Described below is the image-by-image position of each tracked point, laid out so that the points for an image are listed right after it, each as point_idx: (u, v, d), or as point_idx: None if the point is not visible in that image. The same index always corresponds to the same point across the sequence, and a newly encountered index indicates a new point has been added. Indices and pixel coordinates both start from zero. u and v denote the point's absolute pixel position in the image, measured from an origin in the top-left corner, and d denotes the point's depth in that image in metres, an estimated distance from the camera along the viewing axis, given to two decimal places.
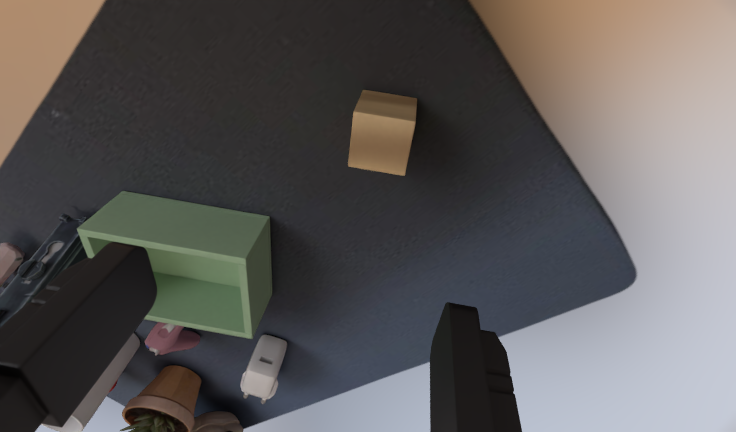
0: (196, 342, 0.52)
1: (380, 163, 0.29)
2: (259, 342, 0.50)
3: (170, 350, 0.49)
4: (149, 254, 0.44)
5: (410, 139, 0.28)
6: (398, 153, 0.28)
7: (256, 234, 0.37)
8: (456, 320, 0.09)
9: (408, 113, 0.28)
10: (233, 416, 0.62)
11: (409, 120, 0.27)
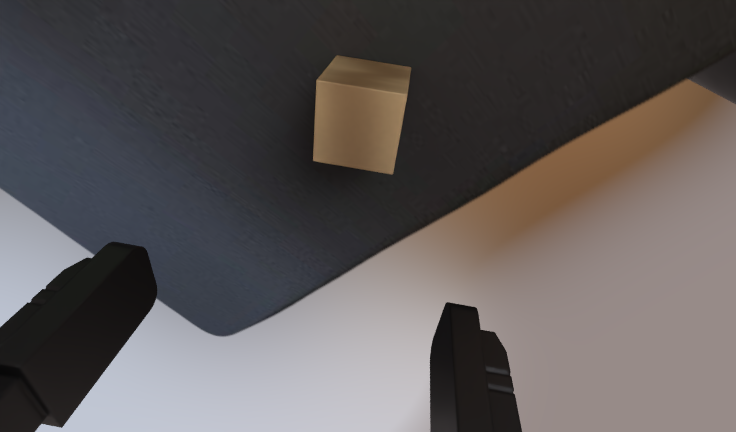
0: None
1: (327, 130, 0.20)
2: None
3: None
4: None
5: (367, 168, 0.21)
6: (346, 153, 0.20)
7: None
8: (456, 321, 0.09)
9: None
10: None
11: (393, 167, 0.21)
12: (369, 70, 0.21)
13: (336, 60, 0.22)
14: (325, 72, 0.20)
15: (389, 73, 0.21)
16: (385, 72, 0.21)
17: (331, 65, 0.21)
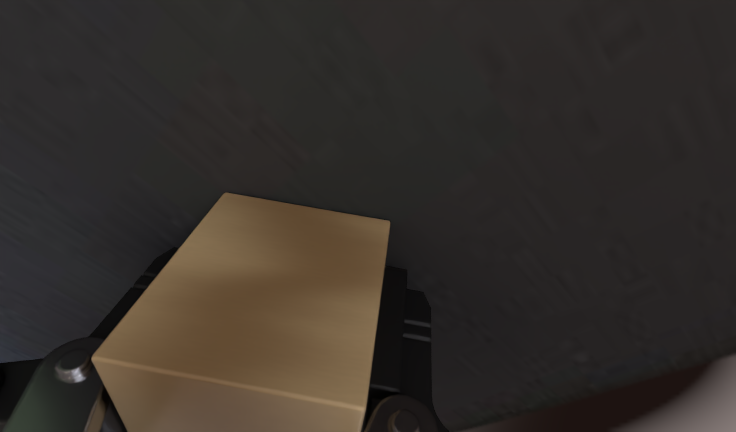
0: None
1: None
2: None
3: None
4: None
5: None
6: None
7: None
8: (385, 280, 0.10)
9: None
10: None
11: None
12: (282, 259, 0.08)
13: (212, 218, 0.09)
14: (147, 296, 0.07)
15: (331, 263, 0.08)
16: (324, 259, 0.08)
17: (188, 245, 0.08)
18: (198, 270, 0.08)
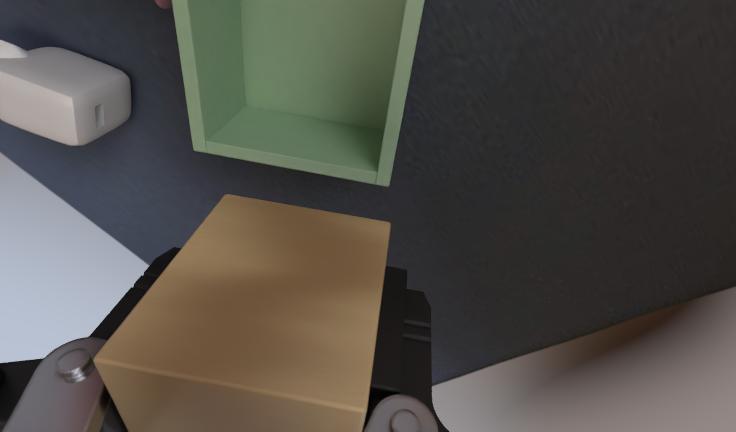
0: None
1: None
2: (117, 81, 0.26)
3: None
4: None
5: None
6: None
7: None
8: (385, 280, 0.10)
9: None
10: None
11: None
12: (283, 260, 0.08)
13: (213, 220, 0.09)
14: (149, 298, 0.07)
15: (333, 265, 0.08)
16: (324, 261, 0.09)
17: (188, 247, 0.08)
18: (199, 272, 0.08)
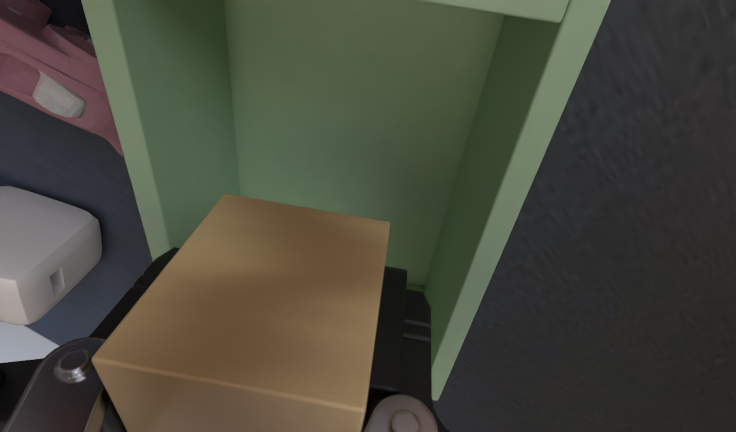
0: None
1: None
2: (81, 232, 0.21)
3: None
4: None
5: None
6: None
7: None
8: (385, 280, 0.10)
9: None
10: None
11: None
12: (282, 260, 0.08)
13: (212, 219, 0.09)
14: (148, 297, 0.07)
15: (332, 264, 0.08)
16: (324, 260, 0.08)
17: (187, 246, 0.08)
18: (198, 271, 0.08)
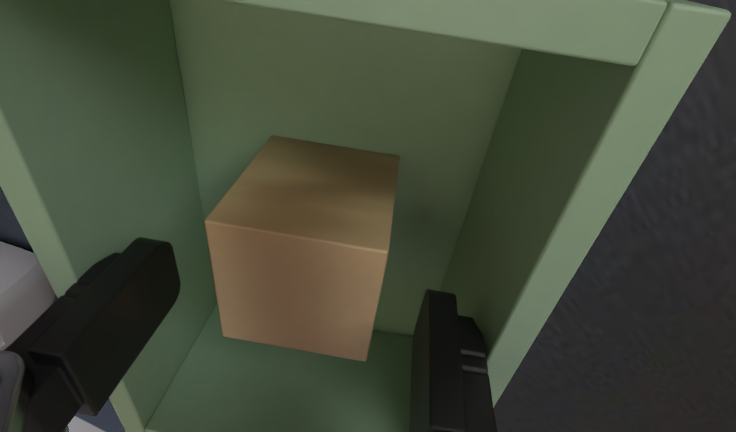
0: None
1: (240, 297, 0.10)
2: (23, 279, 0.18)
3: None
4: None
5: (321, 351, 0.12)
6: (279, 331, 0.11)
7: None
8: (434, 305, 0.09)
9: None
10: None
11: (367, 353, 0.11)
12: (322, 175, 0.11)
13: (266, 150, 0.12)
14: (232, 191, 0.10)
15: (358, 179, 0.11)
16: (352, 176, 0.12)
17: (252, 165, 0.11)
18: (263, 179, 0.11)
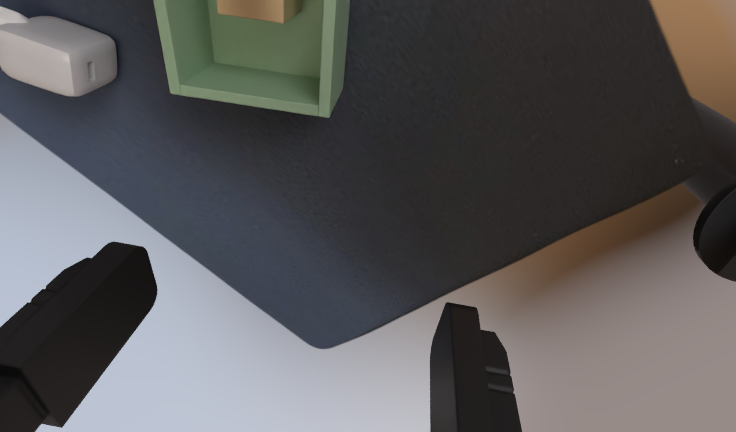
0: None
1: None
2: (105, 43, 0.31)
3: None
4: None
5: (263, 18, 0.25)
6: (243, 4, 0.25)
7: (337, 98, 0.30)
8: (456, 321, 0.09)
9: (289, 10, 0.26)
10: None
11: (283, 15, 0.25)
12: None
13: None
14: None
15: None
16: None
17: None
18: None
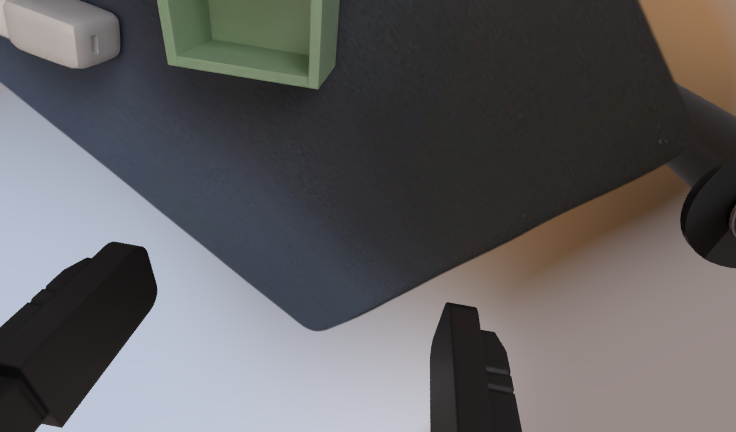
0: None
1: None
2: (108, 19, 0.33)
3: None
4: None
5: None
6: None
7: (327, 73, 0.32)
8: (456, 321, 0.09)
9: None
10: None
11: None
12: None
13: None
14: None
15: None
16: None
17: None
18: None
